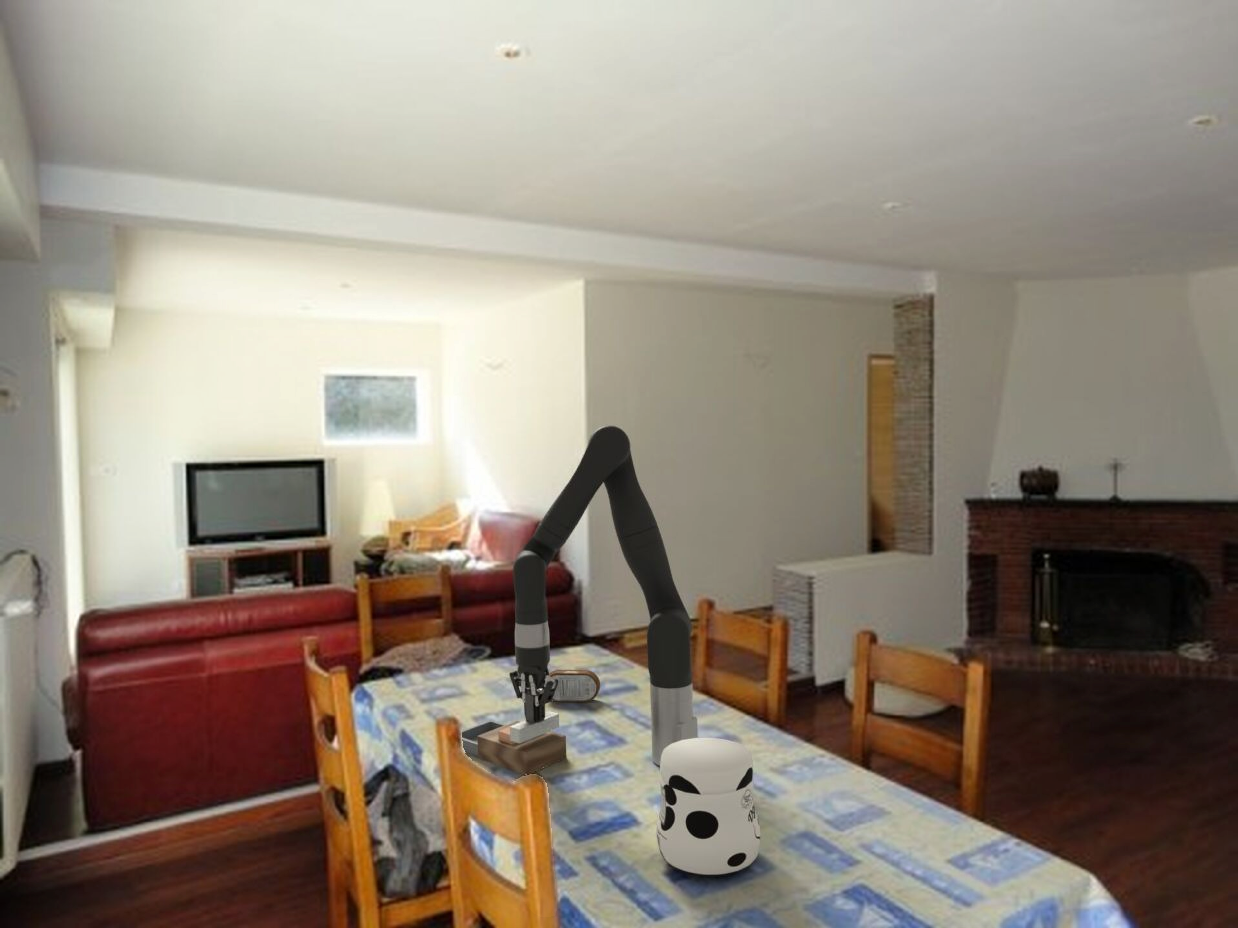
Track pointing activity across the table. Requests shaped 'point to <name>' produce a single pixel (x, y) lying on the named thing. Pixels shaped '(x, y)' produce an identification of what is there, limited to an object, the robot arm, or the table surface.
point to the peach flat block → (505, 735)
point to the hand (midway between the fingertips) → (534, 719)
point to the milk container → (707, 807)
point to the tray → (471, 735)
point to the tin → (575, 685)
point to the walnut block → (522, 751)
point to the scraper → (533, 723)
